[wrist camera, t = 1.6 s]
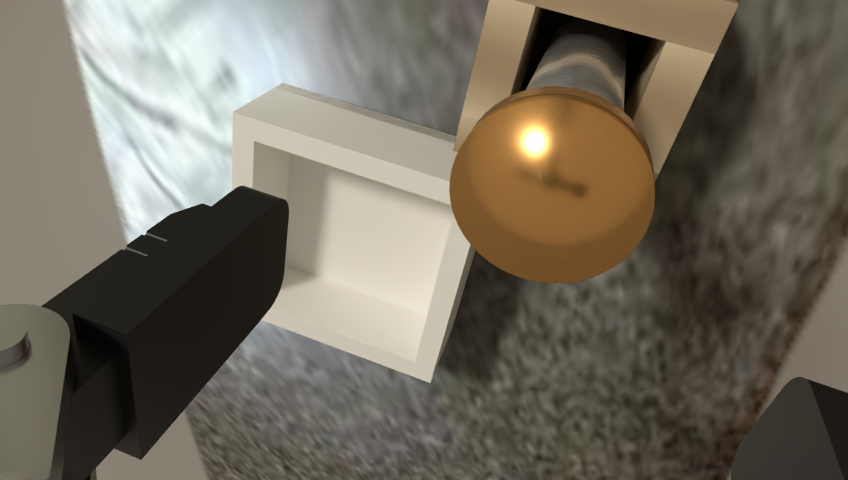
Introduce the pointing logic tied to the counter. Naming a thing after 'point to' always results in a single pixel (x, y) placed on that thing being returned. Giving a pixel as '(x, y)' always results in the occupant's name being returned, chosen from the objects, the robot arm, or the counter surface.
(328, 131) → the tray
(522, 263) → the pin
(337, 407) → the counter surface
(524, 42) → the pin block
